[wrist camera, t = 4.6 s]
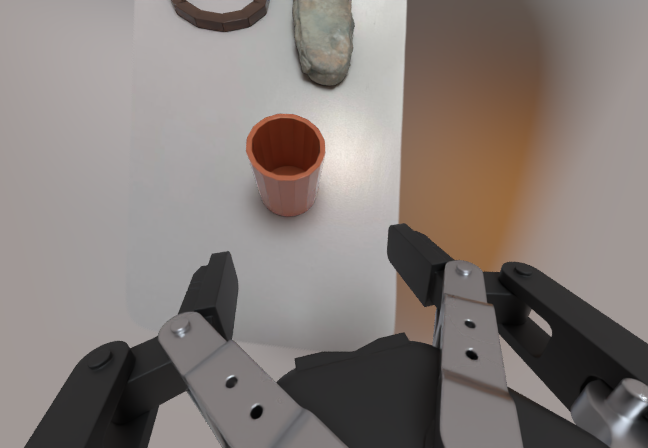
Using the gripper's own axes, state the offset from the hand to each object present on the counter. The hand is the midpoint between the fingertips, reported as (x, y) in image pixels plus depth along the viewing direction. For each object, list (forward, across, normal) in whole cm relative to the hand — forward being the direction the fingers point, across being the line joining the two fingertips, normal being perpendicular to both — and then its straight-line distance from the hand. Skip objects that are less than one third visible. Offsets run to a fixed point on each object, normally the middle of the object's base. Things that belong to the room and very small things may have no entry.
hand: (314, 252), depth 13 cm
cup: (+17, 0, +3) cm, 17 cm away
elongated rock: (+40, -10, -20) cm, 45 cm away
